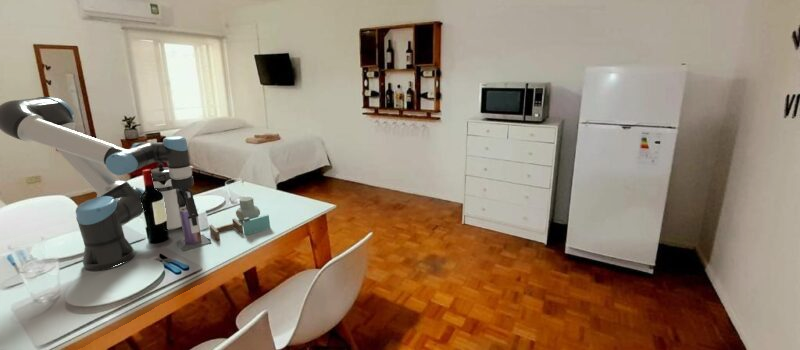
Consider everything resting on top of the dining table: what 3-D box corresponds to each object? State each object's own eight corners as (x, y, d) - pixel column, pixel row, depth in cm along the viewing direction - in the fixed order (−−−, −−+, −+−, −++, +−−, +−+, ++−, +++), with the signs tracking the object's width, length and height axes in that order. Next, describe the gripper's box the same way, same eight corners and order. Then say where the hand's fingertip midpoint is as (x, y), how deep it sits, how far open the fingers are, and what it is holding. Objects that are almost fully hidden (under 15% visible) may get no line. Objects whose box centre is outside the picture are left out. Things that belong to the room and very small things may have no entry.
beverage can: (188, 246, 147) (182, 212, 143) (182, 242, 151) (176, 208, 147) (204, 241, 152) (198, 207, 147) (198, 237, 155) (192, 204, 151)
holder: (217, 240, 153) (216, 232, 152) (210, 233, 160) (209, 225, 158) (243, 233, 160) (242, 224, 159) (235, 226, 166) (234, 218, 165)
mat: (183, 251, 145) (183, 250, 145) (177, 242, 152) (176, 241, 152) (210, 243, 151) (210, 242, 151) (203, 235, 158) (203, 234, 158)
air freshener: (234, 218, 175) (232, 198, 172) (251, 213, 181) (249, 193, 178) (245, 224, 168) (243, 204, 165) (262, 219, 174) (260, 199, 171)
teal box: (245, 235, 158) (243, 219, 156) (244, 233, 159) (242, 218, 157) (270, 227, 165) (268, 212, 163) (268, 226, 166) (267, 211, 164)
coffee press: (201, 222, 171) (190, 159, 162) (171, 237, 156) (157, 169, 147) (172, 217, 176) (160, 156, 167) (140, 232, 161) (125, 165, 152)
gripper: (201, 182, 137) (210, 234, 143) (183, 168, 154) (192, 215, 161) (178, 186, 132) (189, 240, 138) (163, 171, 149) (172, 219, 156)
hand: (190, 226), depth 149 cm, fingers open, 13 cm apart
